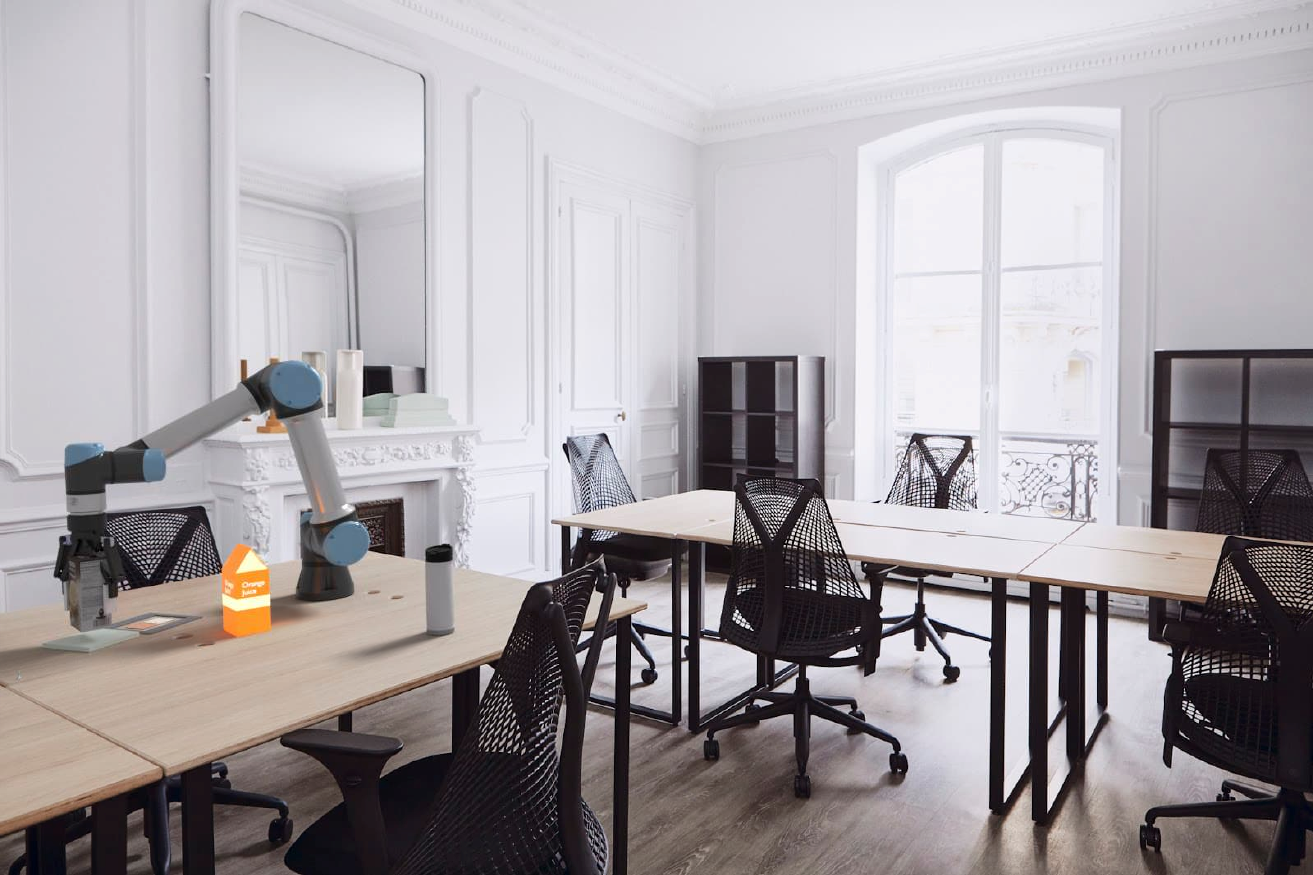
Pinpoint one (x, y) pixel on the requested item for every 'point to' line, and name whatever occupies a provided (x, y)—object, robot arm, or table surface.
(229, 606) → the orange juice
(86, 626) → the coffee box
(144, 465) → the robot arm
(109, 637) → the pad
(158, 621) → the tile
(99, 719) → the table surface
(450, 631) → the travel mug
